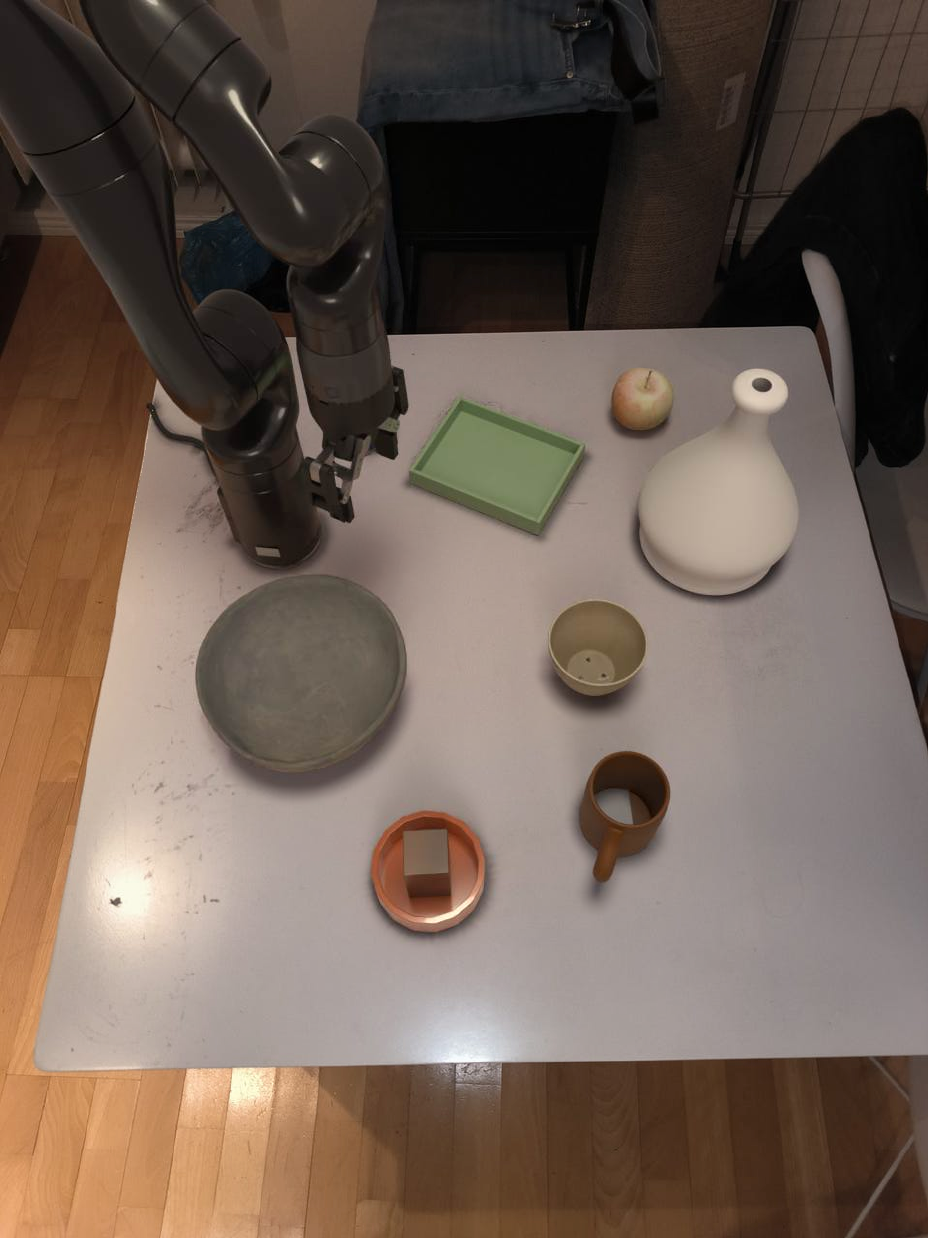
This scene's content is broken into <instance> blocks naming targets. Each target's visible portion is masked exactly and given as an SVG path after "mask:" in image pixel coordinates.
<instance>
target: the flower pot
mask: <svg viewBox="0 0 928 1238" xmlns="http://www.w3.org/2000/svg"><path fill="white" fill-rule="evenodd" d="M547 635H548V636H547V645H548V654H549V656H550V660H551V662H552V666H553V667H554V669H555V672H556V673H557V675H558V676H559V678H560V679H561V680H562V681H563V682H564V683H565V685H567V686H568V687H569V688H570V689H572V690H574V691H575V692H577V693H579V694H582V695H585V696H591V697H592V696H593V697H594V696H595V697H597V696H599V697H600V696H604V695H609V694H611V693H613V692H616V691H617V690H620V689H621V688H623V687H624V686H626V685H627V684H628V683H630V682H631V681H632V680H633V679H634V677H635V676H636V675H637V674H638V673H639V671H640V670H641V668H642V667H643V665H644V664H645V662H646V660H647V656H648V651H649V639H648V635H647V631H646V629H645V627H644V624H643V623H642V621H641V620H640V618H638V616H637V615H636V614H634V612H632V611H631V610H630V609H629V608H627V607H626V606H624V605H622V604H621V603H618V602H615V601H612V600H609V599H603V598H588V599H582V600H579V601H575V602H573V603H570V604H569V605H567V606H566V607H564V608H563V609H561V610H560V611H559V612H558V614H556V616H555V617H554V619H553V620H552V622H551V625H550V626H549V630H548V634H547Z"/></svg>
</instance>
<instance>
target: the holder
mask: <svg viewBox="0 0 928 1238" xmlns="http://www.w3.org/2000/svg"><path fill="white" fill-rule="evenodd" d="M429 829H448V840H449V850H450V869H451V894H452V895H451V896H433V897H414V898H409V894H408V891H407V887H406V883H405V879H404V875H403V831H409V830H429ZM481 845H482V844H481V842H480V838H478V836H477V835H476V834H475V833H474V832H473V830H472V829H471V828H470V826H468V824H467V823H466V822H464V820H462V819H459V818H457V817H455V816H453V815H451V814H449V813H447V812H445V811H433V810H420V811H417V812H414V813H411V814H408V815H404V816H402V817H400V818H399V819H398V820H396V821H395V822H393V824H391V825H390V826H389V827H387V828H385V830H384V832H383V833H382V835H381V837H380V838H379V840H378V842H377V844H376V846H375V847H374V849H373V852H372V859H371V867H370V875H371V879H372V882H373V886H374V890H375V894H376V896H377V899H378V901H379V903H380V905H381V906H382V908H383V909H384V910H385V912H386V913H387V914H388V915H389V916H390V918H391V919H392V920H393V921H394V922H396V923H398V924H400V925H401V926H403V927H406V928H408V929H409V930H411V931H415V932H424V933H425V932H427V933H438V932H441V931H444V930H448V929H450V928H453V927H455V926H456V927H457V925H459V924H460V923H461V922H462V921H464V920H465V919H466V918H467V917H468V916H469V915H471V914H472V913H473V911H474V910H475V908H476V906H477V905H478V902H479V900H480V899H481V896H482V894H483V893H484V890H485V889H484V888H485V875H486V857H485V854H484V851H483V848H482V846H481Z"/></svg>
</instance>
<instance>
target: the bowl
mask: <svg viewBox="0 0 928 1238" xmlns="http://www.w3.org/2000/svg"><path fill="white" fill-rule="evenodd" d="M406 649H407V648H406V643H405V638H404V635H403V633H402V630H401V627H400V625H399V623H398V621H397V620H396V617H395V616H394V613H393V612H392V610H391V609H390V608H389V607H388V606H387V604H386V603H385V602H384V601H383V600H382V599H381V598H380V597H379V596H377V594H375V593H374V592H372V591H371V590H370V589H368V588H366V587H365V586H362V585H361V584H358V583H357V582H354V581H352V580H349V579H347V578H344V577H340V576H336V575H331V574H317V573H312V574H310V573H309V574H300V575H293V576H287V577H283V578H278V579H275V580H272V581H270V582H267V583H264V584H262V585H259V586H257V587H255V588H254V589H251V590H250V591H248V592H247V593H245V594H243V595H242V596H241V597H238V598H237V599H235V600H234V601H233V602H232V603H231V604H230V605H228V607H227V608H226V609H224V610H223V611H222V612H221V613H220V615H219V616H218V617H217V618H216V620H215V621H214V622H213V624H211V627H210V628H209V630H207V633H206V635H205V636H204V638H203V640H202V643H201V645H200V646H199V650H198V654H197V658H196V663H195V670H194V672H195V675H194V681H195V682H194V683H195V688H196V689H195V690H196V693H197V699H198V701H199V705H200V708H201V710H202V713H203V714H204V717H205V718H206V720H207V722H208V723H209V725H210V726H211V728H212V729H213V731H214V732H215V733H216V735H217V736H218V737H219V738H220V739H221V740H222V742H223V743H224V744H226V746H227V747H229V748H230V749H231V750H232V751H233V752H234V753H236V754H237V755H238V756H239V757H241V758H243V759H244V760H247V761H249V762H251V763H253V764H255V765H256V766H259V767H261V768H265V769H268V770H270V771H275V772H276V771H277V772H284V773H305V772H310V771H315V770H320V769H323V768H326V767H329V766H332V765H334V764H337V763H339V762H341V761H343V760H344V759H347V758H348V757H351V756H352V755H354V754H356V753H357V752H358V751H360V749H362V748H363V747H364V746H365V745H367V744H368V743H369V742H370V741H371V740H372V739H373V738H374V737H375V736H376V735H377V734H378V732H380V731H381V729H382V728H383V727H384V725H385V724H386V722H387V721H388V719H389V718H390V716H391V715H392V713H393V711H394V710H395V708H396V706H397V704H398V702H399V700H400V697H401V695H402V692H403V689H404V686H405V682H406V677H407V668H408V657H407V650H406Z"/></svg>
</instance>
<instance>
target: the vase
mask: <svg viewBox="0 0 928 1238" xmlns="http://www.w3.org/2000/svg"><path fill="white" fill-rule="evenodd" d="M730 395H731V398H732V400H733V402H734V404H735V406H734V408H733V410H732V412H731V414H730V415H729V417H728V418H727V419H726V420H725V421H724V422H723V423H721V424H720V425H718V426H717V427H715V428H713V429H711V430H709V431H707V432H705V433H703V434H701V435H699V436H696V437H695V438H693V439H690V440H689V441H687V442H685V443H683V444H681V445H679V446H678V447H675V448H674V449H672V450H671V451H669V452H668V453H667V454H664V456H662V457H661V458H659V460H658V461H657V462H656V463H654V465H653V466H652V467H651V469H650V470H649V471H648V472H647V474H646V476H645V477H644V479H643V482H642V483H641V487H640V490H639V492H638V498H637V499H638V500H637V512H638V513H637V514H638V520H639V530H638V534H639V542H640V547H641V550H642V552H643V554H644V556H645V558H646V560H647V561H648V563H649V564H650V566H651V567H652V568H653V569H654V571H656V572H657V573H658V574H659V576H661V577H662V578H664V579H665V580H666V581H668V582H669V583H670V584H673V585H675V586H676V587H678V588H681V589H683V590H685V591H688V592H691V593H695V594H699V595H707V596H724V595H725V596H726V595H731V594H735V593H736V594H737V593H739V592H742V591H745V590H747V589H749V588H751V587H753V586H754V585H756V584H757V583H758V582H760V581H761V580H762V579H763V578H764V577H765V576H766V575H767V574H768V572H769V571H770V569H771V567H772V566H774V565H775V564H776V563H777V562H778V561H779V560H781V558H782V557H783V556H784V555H785V554H786V553H787V552H788V551H789V549H790V547H791V546H792V544H793V542H794V540H795V537H796V535H797V531H798V526H799V521H800V510H799V502H798V498H797V493H796V491H795V487H794V485H793V482H792V480H791V478H790V477H789V474H788V472H787V470H786V468H785V467H784V465H783V463H782V461H781V459H780V458H779V456H778V454H777V451H776V450H775V447H774V446H773V444H772V441H771V439H770V436H769V422H770V418H771V415H773V414H775V413H778V412H779V411H780V410H782V408H784V406H785V405H786V403H787V402H788V397H789V388H788V386H787V383H786V381H785V380H784V379H783V378H782V377H781V376H780V375H779V374H777V373H776V372H774V371H773V370H769V369H765V368H751V369H747V370H744V371H742V372H740V373H738V375H737V376H736V377H735V378H734V379H733V381H732V383H731V388H730Z"/></svg>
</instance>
